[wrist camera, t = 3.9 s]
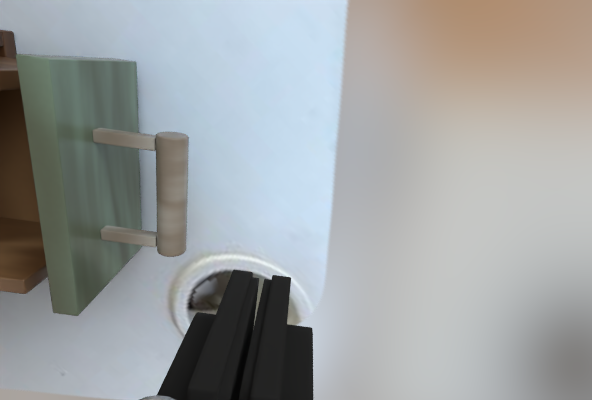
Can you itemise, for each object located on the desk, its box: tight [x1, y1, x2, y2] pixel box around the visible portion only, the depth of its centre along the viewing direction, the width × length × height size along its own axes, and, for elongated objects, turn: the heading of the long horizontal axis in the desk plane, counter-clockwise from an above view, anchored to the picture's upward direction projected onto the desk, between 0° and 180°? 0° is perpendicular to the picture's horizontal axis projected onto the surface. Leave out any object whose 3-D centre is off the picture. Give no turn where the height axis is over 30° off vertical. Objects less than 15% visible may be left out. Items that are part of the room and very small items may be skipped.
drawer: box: [0, 54, 189, 316], centre depth 17 cm, size 18×11×7 cm, turn 82°
